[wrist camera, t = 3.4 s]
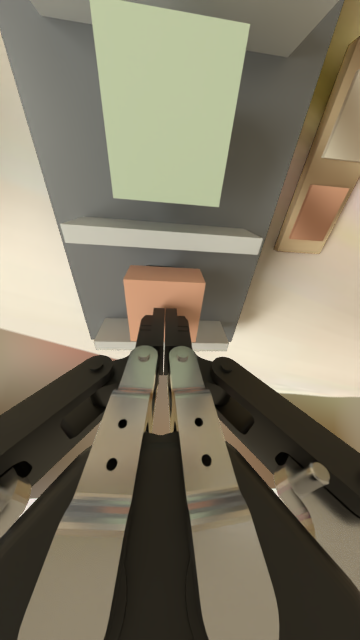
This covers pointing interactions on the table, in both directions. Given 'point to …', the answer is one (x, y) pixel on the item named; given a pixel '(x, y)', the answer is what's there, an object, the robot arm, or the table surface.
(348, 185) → the strip
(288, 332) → the table surface
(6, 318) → the table surface
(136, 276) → the orange cube
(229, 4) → the grey shelf board
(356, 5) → the table surface
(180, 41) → the key sage
